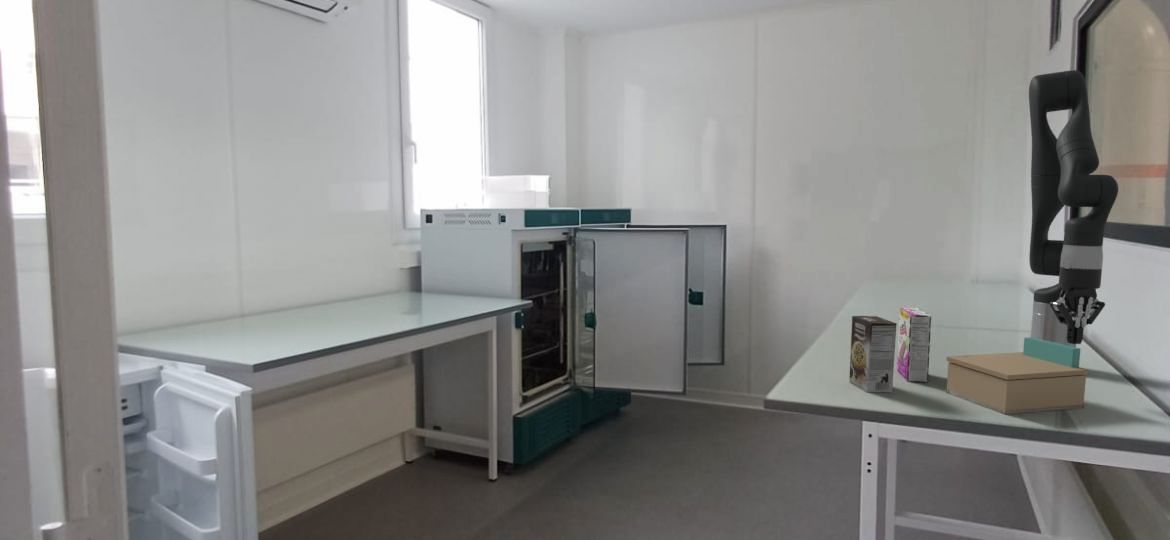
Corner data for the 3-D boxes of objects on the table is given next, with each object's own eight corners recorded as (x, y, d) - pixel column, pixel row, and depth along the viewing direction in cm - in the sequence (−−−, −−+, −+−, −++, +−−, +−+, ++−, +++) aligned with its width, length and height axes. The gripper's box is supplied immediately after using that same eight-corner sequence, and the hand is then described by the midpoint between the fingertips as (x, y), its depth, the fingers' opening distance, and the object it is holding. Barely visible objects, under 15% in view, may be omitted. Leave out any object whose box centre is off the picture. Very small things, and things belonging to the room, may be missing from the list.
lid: (1021, 356, 159) (1023, 335, 159) (1088, 374, 143) (1090, 350, 143) (946, 360, 155) (947, 339, 154) (1007, 380, 139) (1009, 355, 138)
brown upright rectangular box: (847, 381, 164) (850, 315, 162) (873, 381, 165) (876, 315, 163) (866, 392, 155) (870, 322, 153) (893, 392, 155) (897, 322, 154)
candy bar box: (895, 370, 175) (898, 307, 173) (916, 371, 174) (919, 307, 172) (906, 381, 164) (910, 314, 163) (928, 383, 163) (932, 315, 162)
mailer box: (1019, 387, 160) (1021, 358, 159) (1083, 407, 144) (1086, 375, 144) (946, 392, 155) (948, 362, 154) (1004, 414, 140) (1007, 380, 139)
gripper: (1089, 264, 156) (1082, 339, 157) (1041, 264, 153) (1035, 341, 154) (1121, 267, 148) (1114, 346, 150) (1072, 267, 145) (1065, 348, 147)
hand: (1074, 343), depth 152 cm, fingers closed
